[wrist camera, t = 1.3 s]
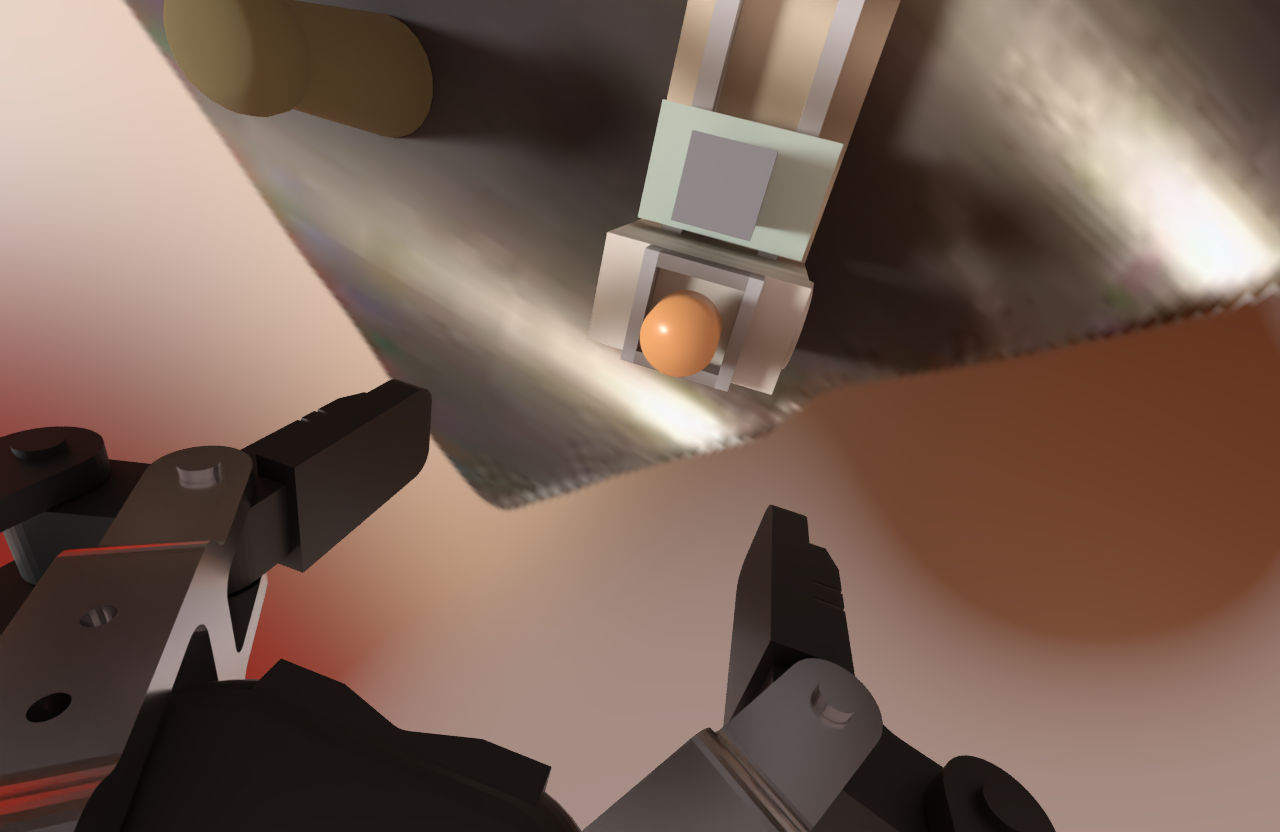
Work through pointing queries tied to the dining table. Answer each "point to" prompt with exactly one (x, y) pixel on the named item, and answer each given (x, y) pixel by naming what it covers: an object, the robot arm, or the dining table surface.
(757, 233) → the carriage
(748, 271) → the rail
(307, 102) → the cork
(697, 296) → the button
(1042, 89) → the dining table surface
